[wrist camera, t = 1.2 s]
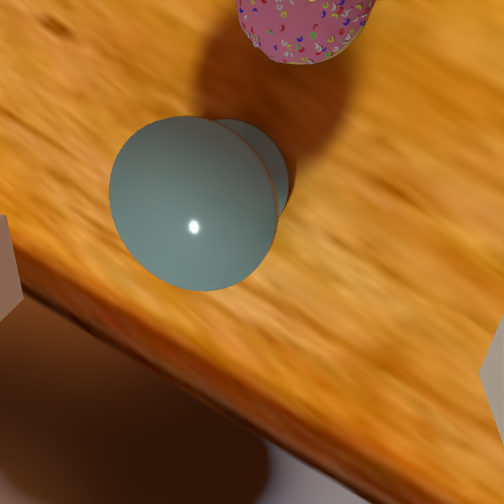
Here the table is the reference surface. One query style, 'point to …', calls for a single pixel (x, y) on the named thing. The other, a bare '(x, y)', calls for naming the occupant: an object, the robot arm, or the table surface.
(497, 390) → the robot arm
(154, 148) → the cake stand
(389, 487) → the table surface
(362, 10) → the cupcake
